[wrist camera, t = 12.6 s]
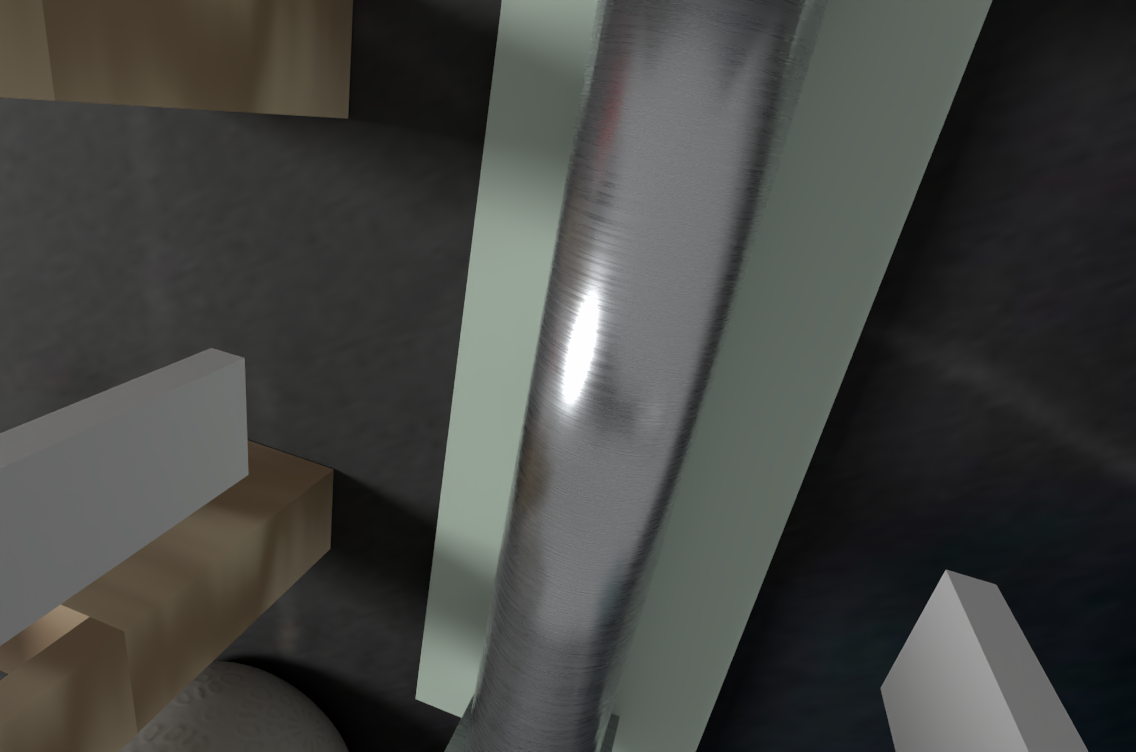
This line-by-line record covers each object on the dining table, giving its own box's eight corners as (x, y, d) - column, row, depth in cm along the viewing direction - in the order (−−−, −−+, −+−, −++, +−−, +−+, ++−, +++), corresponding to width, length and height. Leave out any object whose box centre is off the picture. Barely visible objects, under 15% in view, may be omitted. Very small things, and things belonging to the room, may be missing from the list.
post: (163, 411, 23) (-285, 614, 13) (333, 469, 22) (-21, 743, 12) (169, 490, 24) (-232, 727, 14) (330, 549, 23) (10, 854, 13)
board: (548, -256, 13) (536, -279, 12) (1063, -209, 11) (1084, -233, 11) (425, 682, 24) (415, 698, 23) (677, 782, 22) (675, 804, 22)
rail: (639, -152, 13) (580, -304, 8) (883, -123, 12) (957, -276, 8) (483, 689, 22) (418, 821, 18) (612, 740, 21) (576, 891, 17)
